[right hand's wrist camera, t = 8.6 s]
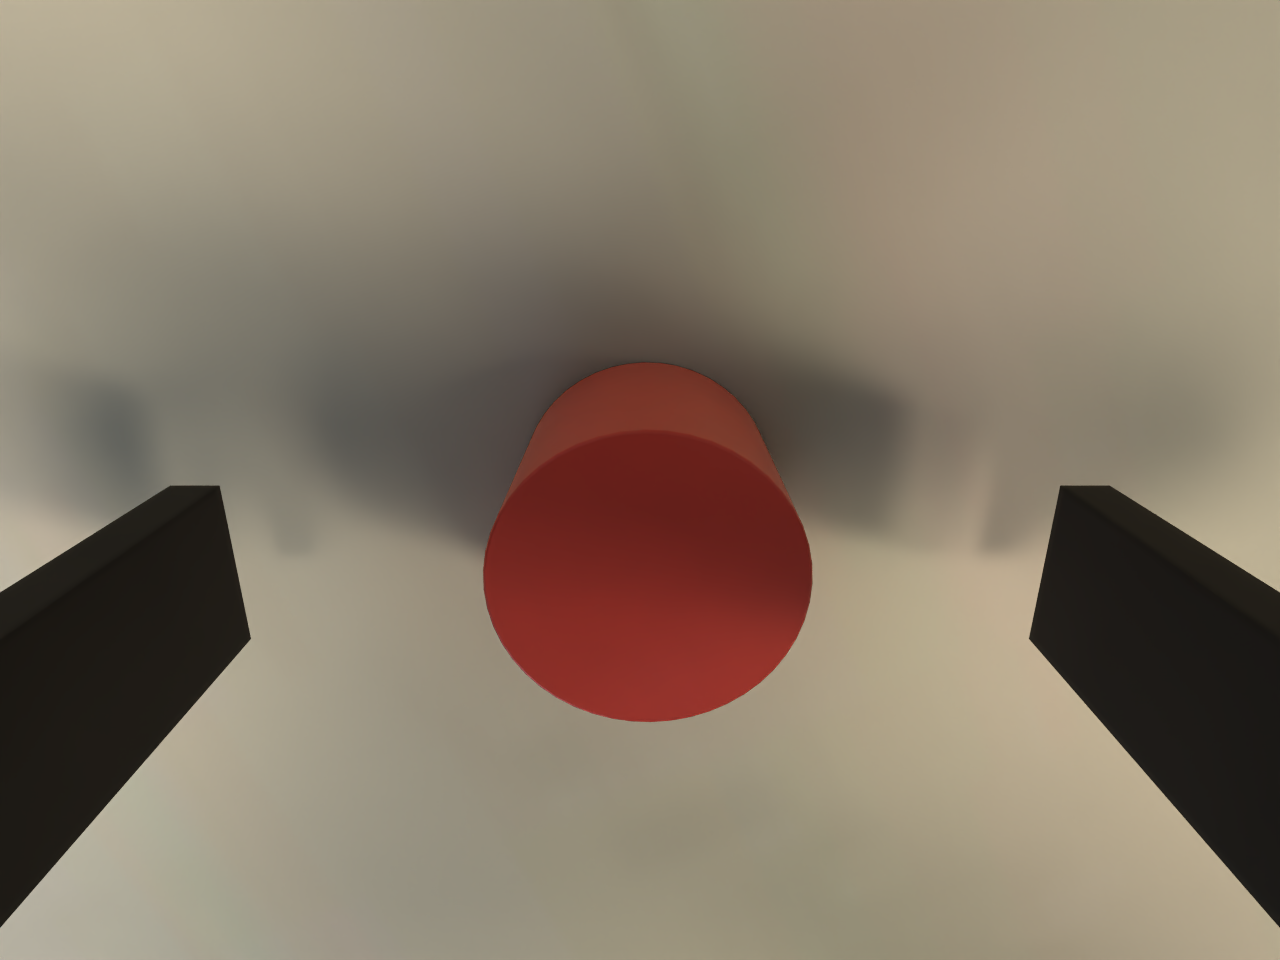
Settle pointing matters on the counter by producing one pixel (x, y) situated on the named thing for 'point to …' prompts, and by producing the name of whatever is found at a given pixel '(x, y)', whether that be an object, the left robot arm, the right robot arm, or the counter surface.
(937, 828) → the counter surface
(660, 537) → the cylinder
